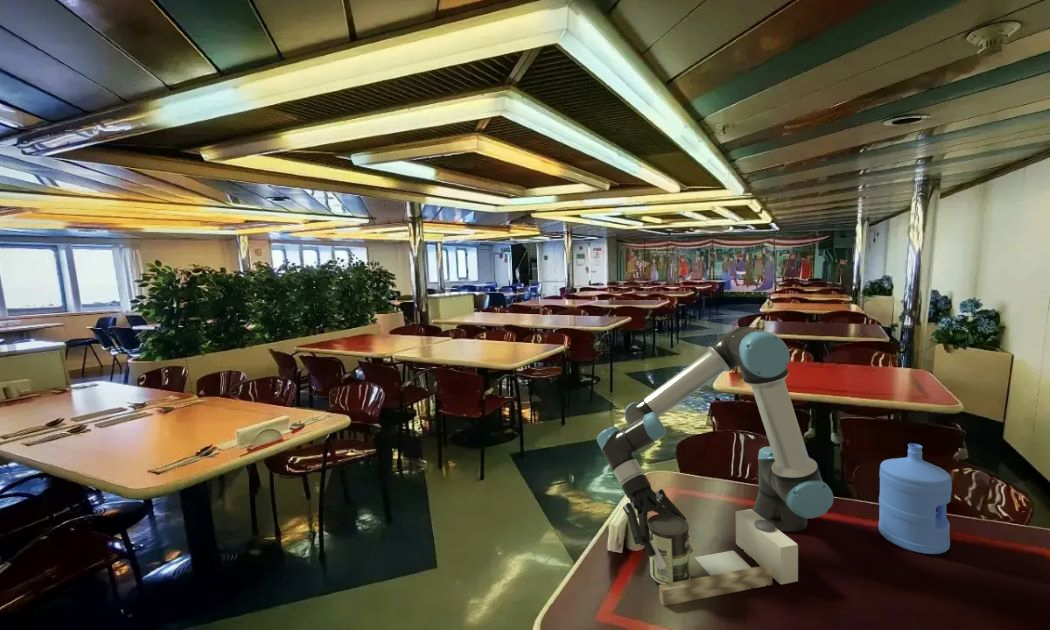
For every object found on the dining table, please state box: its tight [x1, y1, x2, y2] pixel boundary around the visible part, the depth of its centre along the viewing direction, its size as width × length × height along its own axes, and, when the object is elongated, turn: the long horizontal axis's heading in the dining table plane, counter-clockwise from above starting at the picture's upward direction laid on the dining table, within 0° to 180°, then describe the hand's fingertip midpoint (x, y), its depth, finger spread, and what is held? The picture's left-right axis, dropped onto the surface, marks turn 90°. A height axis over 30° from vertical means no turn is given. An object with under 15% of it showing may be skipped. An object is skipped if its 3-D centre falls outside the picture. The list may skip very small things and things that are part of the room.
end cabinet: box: [694, 508, 799, 585], centre depth 123 cm, size 20×18×11 cm
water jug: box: [878, 442, 953, 555], centre depth 129 cm, size 16×16×28 cm
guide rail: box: [658, 565, 773, 607], centre depth 114 cm, size 30×2×4 cm, turn 100°
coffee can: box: [647, 513, 691, 585], centre depth 119 cm, size 10×10×14 cm
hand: (678, 560), depth 116 cm, fingers closed on coffee can, 10 cm apart
